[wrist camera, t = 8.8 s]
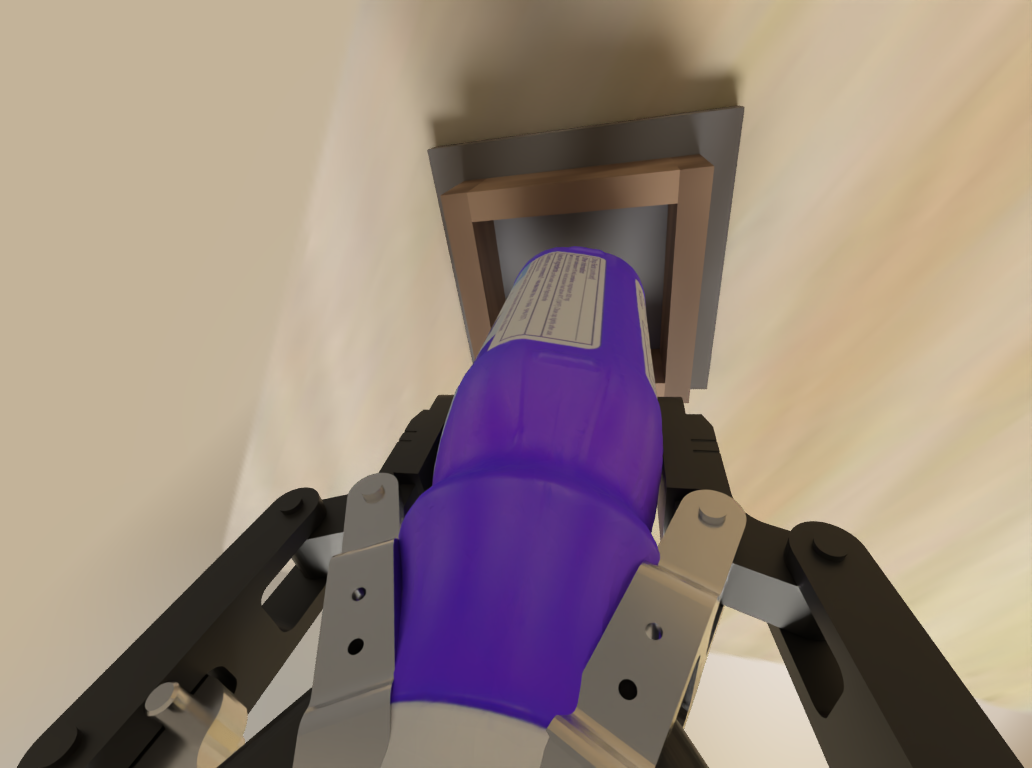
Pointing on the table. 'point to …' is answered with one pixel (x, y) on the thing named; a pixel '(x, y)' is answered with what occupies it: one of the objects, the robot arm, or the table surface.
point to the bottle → (528, 518)
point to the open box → (601, 220)
